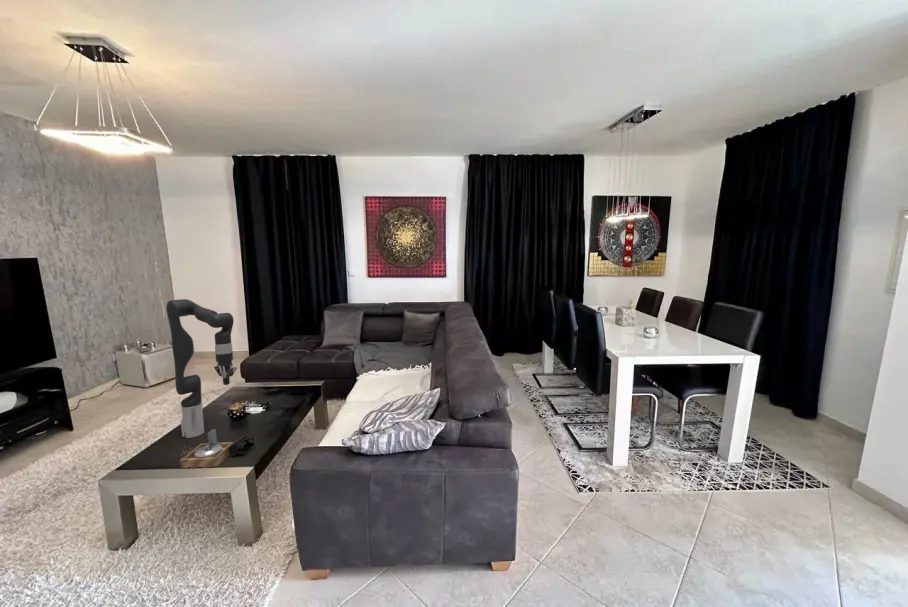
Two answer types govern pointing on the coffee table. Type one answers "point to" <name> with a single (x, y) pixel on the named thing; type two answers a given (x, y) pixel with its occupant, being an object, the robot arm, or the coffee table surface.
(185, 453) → the eiffel tower figurine
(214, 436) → the dial
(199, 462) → the wooden square tray
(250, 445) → the end cap
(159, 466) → the coffee table surface
